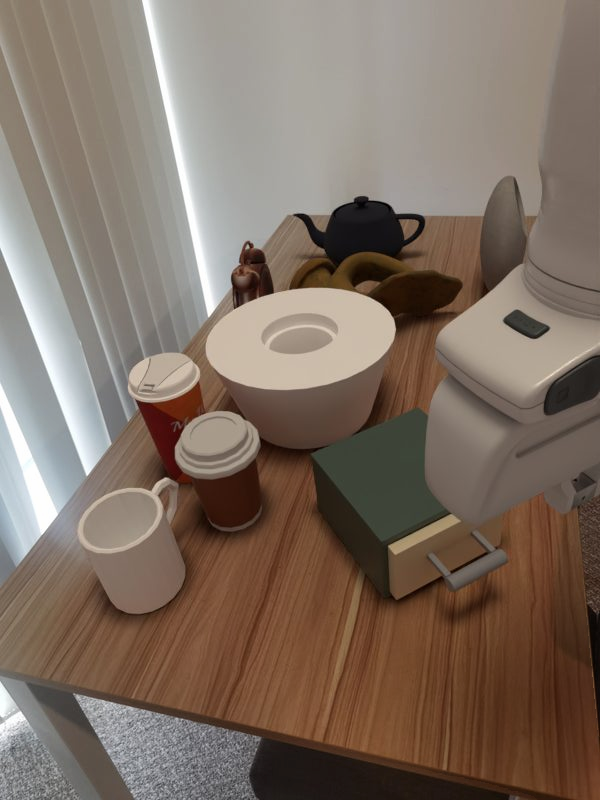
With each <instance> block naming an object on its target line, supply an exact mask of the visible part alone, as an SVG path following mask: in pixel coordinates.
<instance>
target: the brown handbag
mask: <svg viewBox="0 0 600 800" xmlns="http://www.w3.org/2000/svg"><path fill="white" fill-rule="evenodd" d="M247 246H248V247H247ZM238 263H239V264H238V265H237V266H236V267H235V268H234V269H233V270H232V272H231V275H230V283H231V286H232V288H231V289H232V291H231V293H232V305H233V310H234V309H236V308H238V307H240V306H242V305H244V304H246V303H248V302H250V301H253V300H255V299H258V298H260V297H263V296H267V295H270V294H274V293H275V287H274V282H273V278H272V273H271V270H270V267H269V266H268V264H267V258H266V254H265V252H264V251H263V250H262V249H260V248H258V247H255V245H254V243H253V242H251V241H250V240H245V242H244V244H243V245H242V248H241V251H240V254H239V259H238Z"/></svg>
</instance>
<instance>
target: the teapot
mask: <svg viewBox="0 0 600 800" xmlns="http://www.w3.org/2000/svg"><path fill="white" fill-rule="evenodd" d="M292 216H293V217H295V218H298V219H300V220H301V221H302V222H303V224H304V225H305V227H306V229H307V232H308V235H309V237H310V239H311V241H312V243H313V244H314V245H315V246H316V247H317V248H320V249H322V250H324V253H325V256H326V257H327V259H329V260H330V261H331V262H332V263H333V264H336V265H337V266H338V267H339V266H340V264H341V263H342V262H343V261H344V260H345V259H346V258H348V257H350V256H351V255H354V254H357V253H361V252H374V253H379V254H383V255H386V256H389V257H392V258H394V259H396V258H397V256H399V254H400V253H401V252H402V250H403V249H404V247H406V246H408V245H410V244H411V243H413V242H415V241H416V240H417V239H419V237H420V236H421V235H422V233H423V232H424V230H425V228H426V217H424V215H422V214H419V213H407V212H405V213H396V212H395V210H394V208H393V206H392V205H391V204H389V203H387V202H385V201H381V200H372V199H371V200H370V198H369V196H367V195H359V196H356V197H354V198H353V201H351V202H347V203H344V204H341V205H339V206H337V207H336V208H335V209H334V210H332V212H331V214H330V217H329V220H328V222H327V225H326V228H325V231H322V230H320V229H318V227H317V226H316V224H315V223H314V221H313V219H312V217H310V216H309V215H308V214H306V213H300V212H296V213H293V214H292ZM400 220H401V221H402V220H413V221H417V222H418V227H417V228H416V229H415V231H414V233H413V234H412V235H410V236H409V237H408V238H406V239H405V233H404V230H403V227H402V224H401V221H400Z"/></svg>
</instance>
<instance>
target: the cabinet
mask: <svg viewBox="0 0 600 800" xmlns="http://www.w3.org/2000/svg"><path fill="white" fill-rule="evenodd" d="M427 422H428V414H427V413H426V412H425V411H423V410H422V409H421V407H415V408H413V409H410V410H408V411H406V412H404V413H401V414H399V415H396V416H395V417H392V418H390V419H388V420H385V421H383V422H381V423H378V424H376V425H373V426H371V427H369V428H367V429H364V430H362V431H360V432H358V433H357V432H356V433H354V434H353V435H351V436H350V437H348V438H346V439H344V440H341V441H339V442H337V443H334V444H331V445H328V446H324V447H322V448H321V449H318V450H316V451H314V452H311V453H310V454H309V455H310V460H311V467H312V473H313V480H314V488H315V494H316V501H317V507H318V508H317V509H318V511H319V512H320V514H321V515H322V516H323V518H324V520H325V521H326V522H327V523H328V525H329V526H330V527H331V528H332V530H333V531H334V533H335V534H336V535H337V537H338V538H339V539H340V540H341V542H342V543H343V545H344V546H345V548H346V549H347V551H348V552H349V553H350V555H351V556H352V557H353V559H354V560H355V561H356V563H357V564H358V565H359V567H360V568H361V570H362V571H363V572H364V573H365V575H366V576H367V577H368V579H369V580H370V583H372V585H373V586H374V587H375V589H376V590H377V592H378V593H379V594H380V595H381V597H382V598H383V599H384V600H385V599H388V598H390V597H391V596H393V595H392V593H391V592H390V585H389V563H388V545H389V544H390V543H391V542H393V541H395V540H397V539H399V538H401V537H403V536H405V535H407V534H409V533H411V532H413V531H415V530H417V529H419V528H421V527H423V526H425V525H427V524H429V523H431V522H433V521H435V520H437V519H439V518H441V517H443V516H445V515H447V514H449V513H450V512H449V511H448V510H447V509H446V508H445V507H444V506H443V505H442V504H441V503H440V502H439V501H438V500H437V499H436V497H435V496H434V495H433V494H432V492H431V491H430V489H429V488H428V486H427V483H426V479H425V442H426V430H427Z"/></svg>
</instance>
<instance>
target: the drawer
mask: <svg viewBox="0 0 600 800" xmlns="http://www.w3.org/2000/svg"><path fill="white" fill-rule="evenodd" d="M504 518H505V513H503V514H501V515H499V516H497V517H495V518H493V519H491V520H490V521H488V522H486V523H484V524H482V525H480V526H476V527H473V526H470V525H467V524H466V523H464V522H462V521H461V520H459V519H457V518H456V517H455V516H454V515H452V514H450V515H448V516H446V517H444V518H442V519H440V520H438V521H436V522H434V523H432V524H430V525H428V526H426V527H424V528H422V529H420V530H418V531H416V532H414V533H412V534H410V535H408V536H406V537H404V538H402V537H401V538H402V539H401V538H399V539H397V540H395V541H393V542H391V543H390V544H389V545H388V563H389V585H390V592H391V593H392V595H391V596H392V597H394V599H395V600H396V601H398V600H400V599H401V598H403V597H405V596H407V595H409V594H411V593H412V592H414V591H416V590H418V589H420V588H422V587H424V586H426V585H427V584H429V583H431V582H433V581H435V580H437V579H438V578H441V577H442V578H443V579H444V584H445V586H446V588H447V589H448V590H449V592H450V593H457V592H458V591H459V590H461V589H463V588H465V587H467V586H469V585H471V584H472V583H474V582H476V581H478V580H480V579H481V578H483V577H485V576H487V575H489V574H490V573H492V572H493V571H494V572H495V571H496V570H498V569H499V568H501V567H503V566H505V565H506V564H508V563H509V557H508V555H507V553H506V552H505V551H504V550H503V549H501V548H498V549H497V548H496V547H498V546H499V545H501V541H502V531H503V526H504V525H503V524H504ZM485 553H487V554H486V555H484V556H483V557H480V558H479V559H477V560H475V561H473V562H472V563H470V564H468V565H466V566H464V567H462V568H461V569H458V570H456V571H455V572H452V571H453V570H455V569H457V568H460V567H461V566H463V565H464V564H466V563H468V562H470V561H472V560H474V559H476V558H477V557H479V556H481V555H483V554H485ZM451 572H452V573H451Z"/></svg>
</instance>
